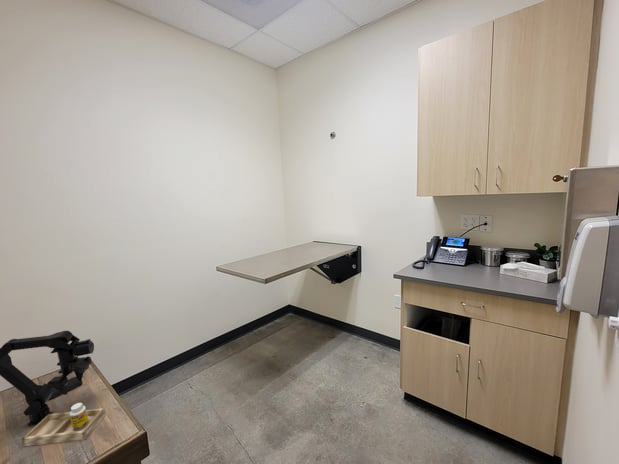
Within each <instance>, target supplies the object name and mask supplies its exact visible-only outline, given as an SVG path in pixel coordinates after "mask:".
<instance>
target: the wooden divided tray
mask: <svg viewBox="0 0 619 464" xmlns="http://www.w3.org/2000/svg"><path fill="white" fill-rule="evenodd" d="M86 411H87V416H88V421H89V422H88V424H87V425H86V426H85V427H84V428H82V429H80V430H77V431H75V430H73V428H72V424H71V419H70V412H71V411H64V412H56V413H53V414H48V415H47V416H46V417H45V418H44V419H43V420H42V421H41V422H39V423H38V424H37V425H34V427H33V428H32V429H31V430H29V432H27V434H25V436H22V438H21V443H22V446H23V447H30V446H39V445H40V446H41V445H46V444H47V445H48V444H49V445H50V444H57V443H63V442H64V443H66V442H75V441H85V440H87V439H88V437H89V436H90V435H91V433H92V432H93V431H94V430H95V429H96V427H97V426H98V425H99V424H100V422H101V421H102V420H103V419H104V418H105V416H106V415H107V414H106V409H105V408H104V407H102V408H101V407H100V408H94V409H86Z"/></svg>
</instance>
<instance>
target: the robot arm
mask: <svg viewBox="0 0 619 464" xmlns="http://www.w3.org/2000/svg"><path fill="white" fill-rule="evenodd" d="M69 342H70V343H69ZM34 348H35V349H37V348H50V349H52V351H51V352H50V354H56V353H57V358H58V363H56V366H59V367H60V370H59V371H58V374H61V375H59V376H54V377H52V378H51V379H50V380H49V381H48V382H47V383H43V384H42V385H41V384H36V383H35V382H34V381H33V380H32V379H31V378H29V377H28V376H27V375H26V374H25V373H23V372H22V371H21V370H20V369H18V367H16V366H15V365H13V362H12V358H11V356H10V353H11V352H12V351H19V350H26V349H27V350H28V349H34ZM94 350H95V343H94V342H93V341H92V340H91V338H88V339H84V340H80V338H78V337H77V336H75V335H74V333H72V332H71V331H70V330H62V331H59V332H56V333H53V334H49V335H41V336H32V337H25V338H24V337H23V338H11V339H9V340H8V341H7V342H5V343H4V344H3V345H2V346H1V347H0V377H2V379H4V380H5V381H7V383H9V384H10V385H11V386H13V387H14V388H15V389H16V390H18V391H19V392H20V393H21V394H23V395H24V399H25V403H26V404H27V405H28V406H27V407H26V409H25V410H24V411H23V412H22V413H23V415H24V416H25V417H27V416H28V419H29V422H28V423H27V424H26V426H36V425H37V424H38V423H39V422H41V421H42V420H43V419H44V418H45V417H46V416H47V415H48V414H54V413H53V411H50V407H49V405H48V404H47V402H48V401H49V400H50V399H49V398H50V397H51V395H52V390H51V389H52V388H55V389H57V390H59V391H60V392H61V393H63V394H62V395H68V392H67V387H66V384H67V383H68V382H69V381H67V380H68V376H71V374H72V373H74V375H75V377H77V379H78V380H79V381H82V382H83V378H84V373H85V372H86V371H87V370H88V369H90V365H91V364H92V357H91V356H88V355H89V354H90V355H91V354H93V353H94ZM80 356H81V357H80ZM82 356H84V357H82Z"/></svg>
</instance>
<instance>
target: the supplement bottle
mask: <svg viewBox="0 0 619 464" xmlns="http://www.w3.org/2000/svg"><path fill="white" fill-rule="evenodd" d="M86 410H87V407H86V405H83V403H82V402H77V403H75V404H73V405H72V406H71V407H70V411H69V412H70V419H71V424H72V428H73V430H75V431H77V430H80V429H82V428H84V427H85V426H86V425H87V424H88V422H89V421H88V416H87V411H86Z"/></svg>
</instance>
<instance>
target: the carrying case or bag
mask: <svg viewBox="0 0 619 464" xmlns="http://www.w3.org/2000/svg"><path fill="white" fill-rule="evenodd" d="M67 381H69V382H68V383H67V384H66V387H67V393H68V392H70V391H72V390H74V389H76V387H77V388H79V387H80V386H81V385H82V384H83V380H82V381H79V380H78V379H77V377H76V376H73V377H70V378H69V379H68V380H67ZM78 386H79V387H78ZM51 390H52V395H51V397H50V398H49V400H53V399H55V398H57V396H58V397H60V396H62V395H64V394H63V393H61V392H60V391H59V390H57V389H55V388H52V389H51ZM61 394H62V395H61ZM59 395H60V396H59Z"/></svg>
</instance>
